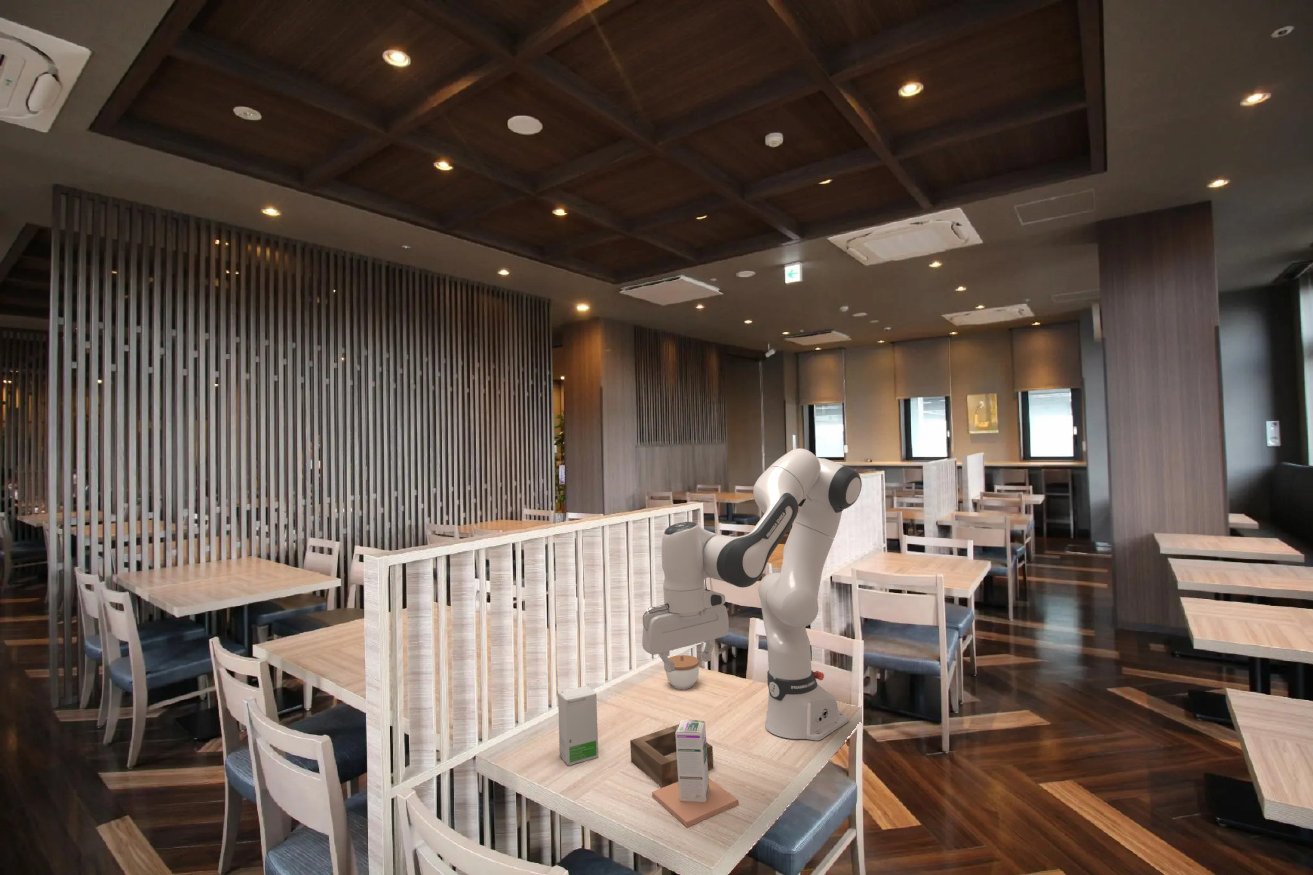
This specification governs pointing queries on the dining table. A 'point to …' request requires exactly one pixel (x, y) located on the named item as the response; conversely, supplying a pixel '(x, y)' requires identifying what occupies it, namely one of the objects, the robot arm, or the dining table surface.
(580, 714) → the skincare box
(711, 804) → the terracotta tile
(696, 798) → the syrup box
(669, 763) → the holder sleeve
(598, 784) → the dining table surface
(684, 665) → the lidded jar
